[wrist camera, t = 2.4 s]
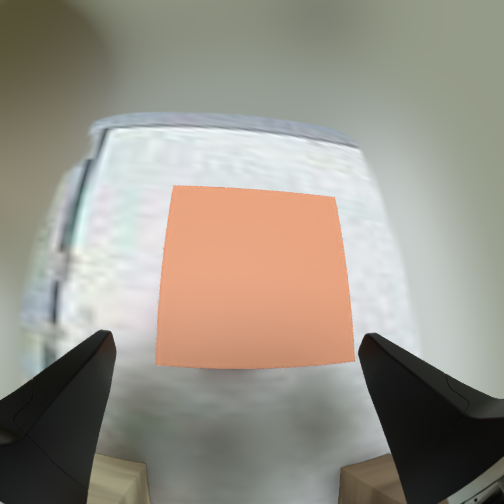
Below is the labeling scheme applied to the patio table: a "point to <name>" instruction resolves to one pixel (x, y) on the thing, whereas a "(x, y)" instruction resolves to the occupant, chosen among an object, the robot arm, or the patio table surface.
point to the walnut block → (372, 483)
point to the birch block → (118, 482)
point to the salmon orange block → (253, 281)
